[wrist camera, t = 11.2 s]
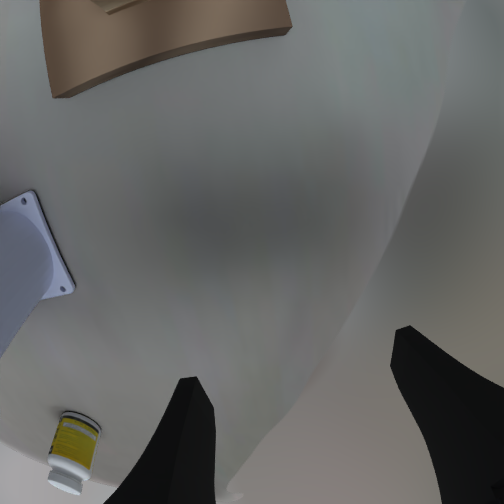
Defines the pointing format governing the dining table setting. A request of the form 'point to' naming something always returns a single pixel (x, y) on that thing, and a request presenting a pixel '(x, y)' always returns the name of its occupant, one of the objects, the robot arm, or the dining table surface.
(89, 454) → the supplement bottle
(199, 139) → the dining table surface
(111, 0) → the beige block
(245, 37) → the dock
